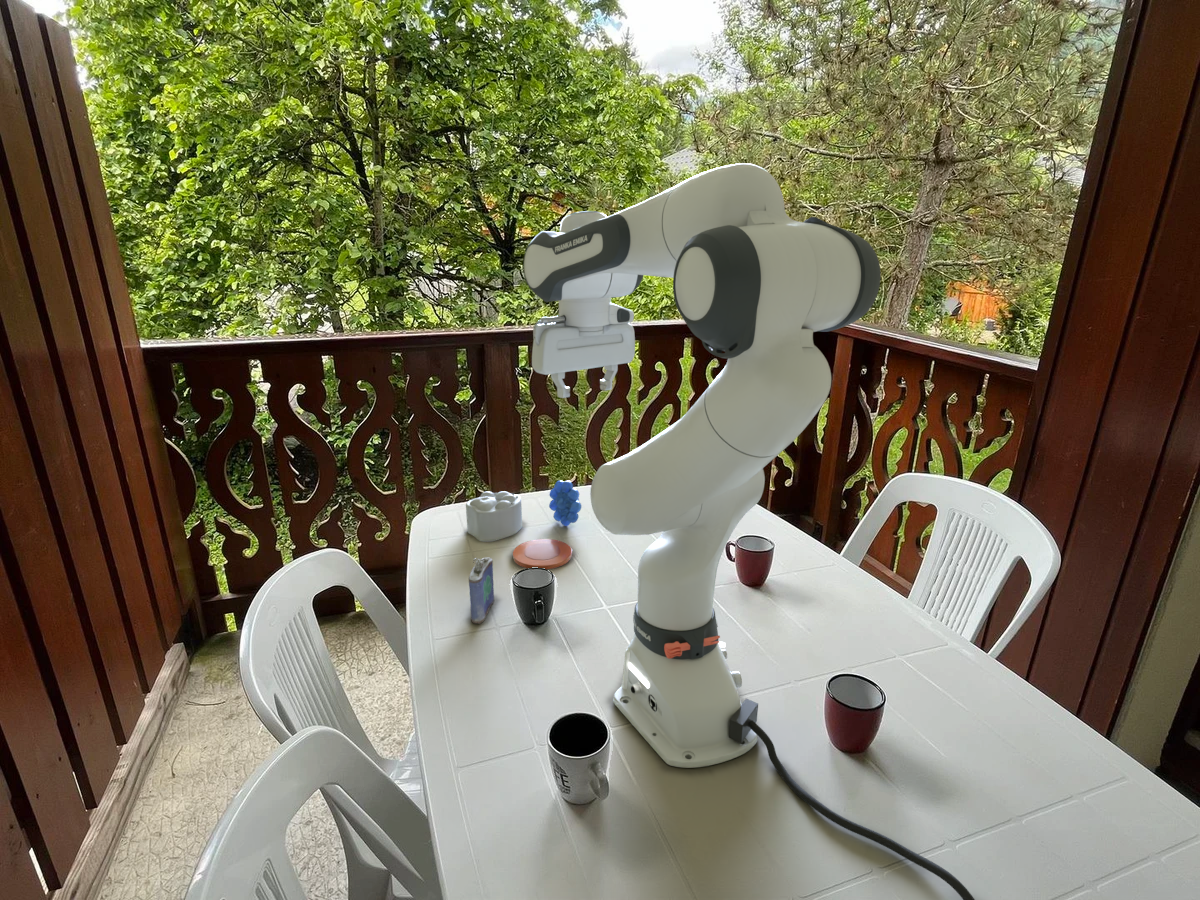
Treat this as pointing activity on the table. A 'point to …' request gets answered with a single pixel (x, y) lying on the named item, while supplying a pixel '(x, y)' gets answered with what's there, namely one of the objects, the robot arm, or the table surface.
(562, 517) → the grapes
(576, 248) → the robot arm
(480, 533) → the lumpy-topped squat cylinder
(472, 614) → the flask
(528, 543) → the coaster
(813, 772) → the table surface
